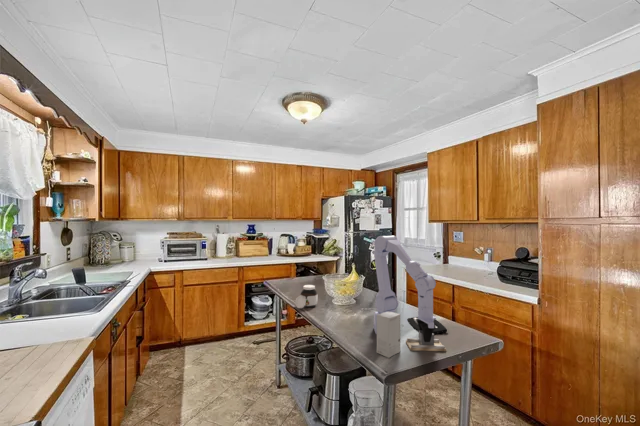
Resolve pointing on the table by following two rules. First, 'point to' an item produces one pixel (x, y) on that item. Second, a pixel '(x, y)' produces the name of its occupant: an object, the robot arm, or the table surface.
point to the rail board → (415, 345)
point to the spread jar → (307, 297)
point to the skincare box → (388, 334)
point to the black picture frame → (439, 326)
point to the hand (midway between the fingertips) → (425, 339)
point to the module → (421, 339)
